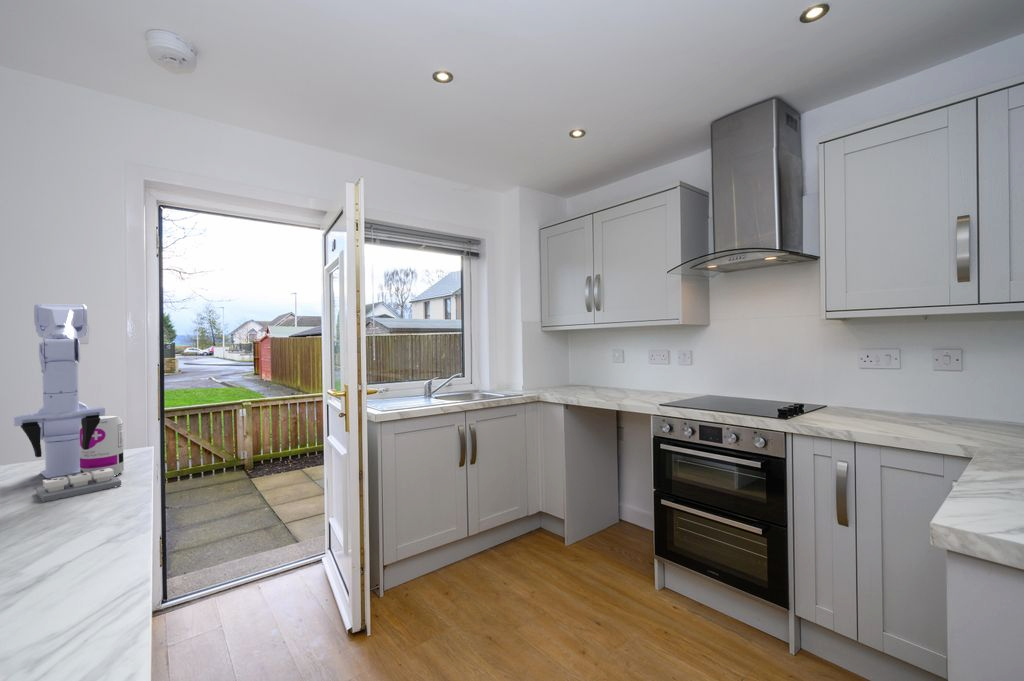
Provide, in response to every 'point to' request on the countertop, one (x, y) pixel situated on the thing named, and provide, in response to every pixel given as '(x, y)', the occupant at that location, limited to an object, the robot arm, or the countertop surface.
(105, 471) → the tile one
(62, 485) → the tile three
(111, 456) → the supplement can
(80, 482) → the tile two
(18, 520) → the countertop surface
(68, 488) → the keypad
